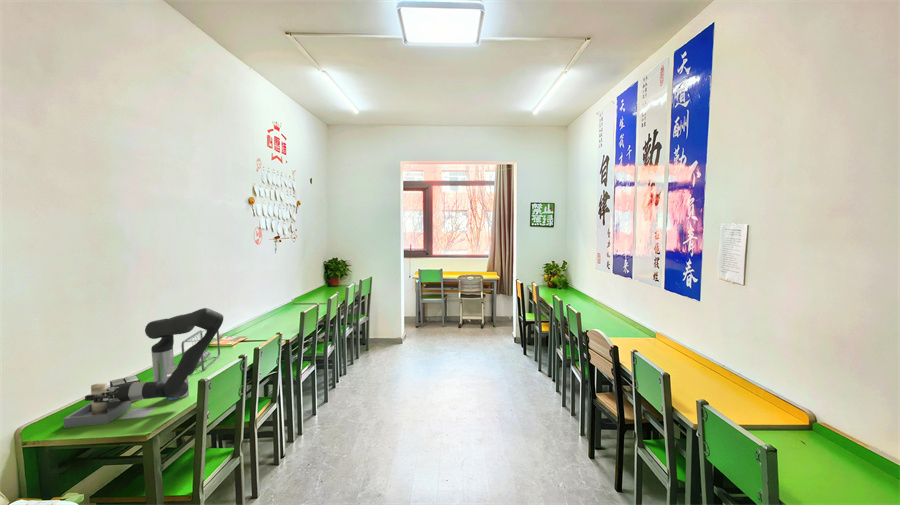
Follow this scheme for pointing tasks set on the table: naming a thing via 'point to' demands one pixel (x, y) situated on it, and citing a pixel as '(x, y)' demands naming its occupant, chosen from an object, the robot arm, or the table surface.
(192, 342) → the newton's cradle
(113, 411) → the tray
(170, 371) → the ink box
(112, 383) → the puzzle cube
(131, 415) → the rubber mat
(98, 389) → the wooden canister
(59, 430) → the table surface
